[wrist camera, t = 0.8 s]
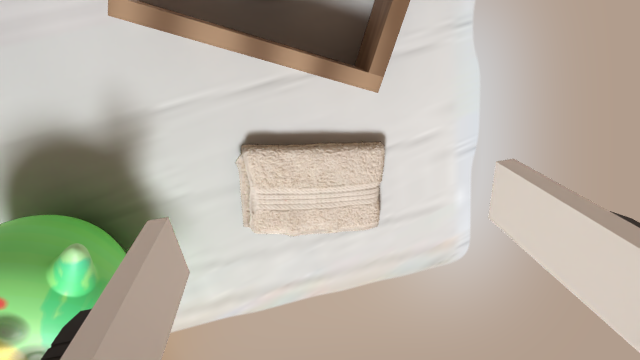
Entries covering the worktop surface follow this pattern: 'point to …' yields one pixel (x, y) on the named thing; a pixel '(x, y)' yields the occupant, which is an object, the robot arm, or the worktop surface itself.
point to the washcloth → (310, 187)
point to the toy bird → (49, 278)
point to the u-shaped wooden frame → (363, 75)
